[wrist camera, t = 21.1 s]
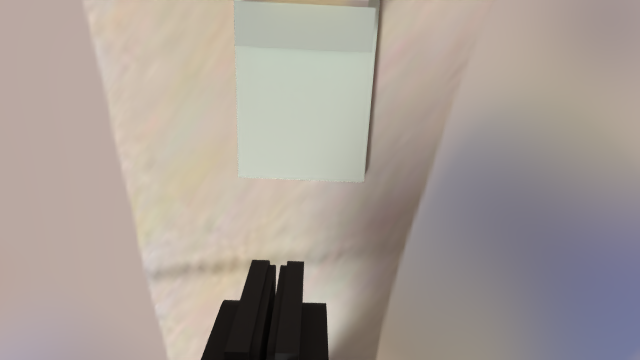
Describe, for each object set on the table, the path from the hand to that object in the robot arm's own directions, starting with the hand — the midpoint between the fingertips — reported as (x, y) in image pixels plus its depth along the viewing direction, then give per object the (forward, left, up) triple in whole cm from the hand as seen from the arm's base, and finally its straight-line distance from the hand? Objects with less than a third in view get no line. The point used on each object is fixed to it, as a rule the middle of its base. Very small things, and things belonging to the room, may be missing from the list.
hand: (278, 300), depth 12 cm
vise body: (+7, 0, -25) cm, 26 cm away
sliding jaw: (+10, 0, -24) cm, 25 cm away
